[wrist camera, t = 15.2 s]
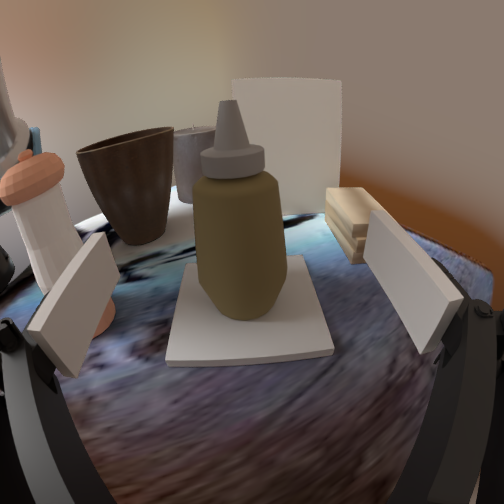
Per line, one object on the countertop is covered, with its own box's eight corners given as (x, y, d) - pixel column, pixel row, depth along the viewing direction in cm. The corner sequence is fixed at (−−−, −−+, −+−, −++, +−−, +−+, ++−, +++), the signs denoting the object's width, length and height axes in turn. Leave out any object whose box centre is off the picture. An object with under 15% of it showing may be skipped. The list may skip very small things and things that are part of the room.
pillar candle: (175, 193, 57) (164, 126, 48) (216, 183, 60) (210, 118, 52) (183, 208, 49) (171, 130, 41) (232, 196, 52) (225, 121, 44)
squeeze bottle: (243, 346, 22) (218, 102, 12) (188, 301, 26) (150, 111, 17) (303, 297, 26) (310, 98, 16) (246, 265, 31) (233, 99, 21)
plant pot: (131, 214, 49) (114, 135, 40) (200, 213, 47) (189, 122, 38) (86, 256, 37) (56, 159, 28) (165, 262, 34) (139, 140, 26)
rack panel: (241, 217, 44) (231, 79, 32) (241, 214, 45) (231, 80, 33) (336, 212, 44) (341, 80, 32) (334, 208, 45) (337, 80, 33)
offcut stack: (349, 266, 31) (355, 226, 29) (321, 219, 42) (323, 187, 39) (394, 261, 32) (403, 224, 29) (359, 217, 42) (362, 187, 39)
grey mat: (168, 366, 21) (165, 360, 20) (187, 270, 33) (185, 263, 32) (332, 355, 21) (334, 348, 21) (301, 261, 33) (302, 254, 32)
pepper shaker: (69, 302, 28) (13, 155, 17) (118, 291, 30) (69, 132, 19) (58, 345, 22) (-24, 175, 12) (113, 336, 24) (39, 143, 13)
